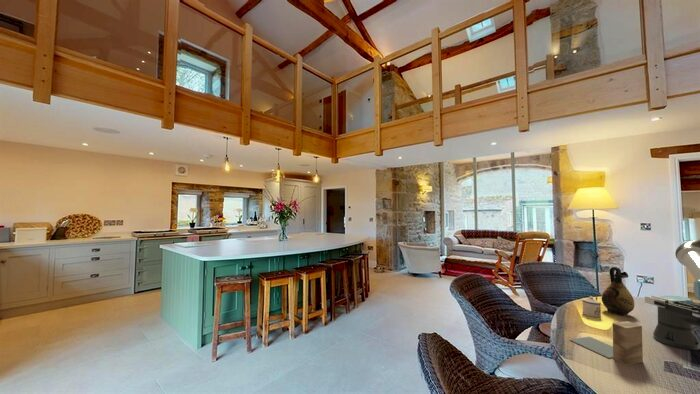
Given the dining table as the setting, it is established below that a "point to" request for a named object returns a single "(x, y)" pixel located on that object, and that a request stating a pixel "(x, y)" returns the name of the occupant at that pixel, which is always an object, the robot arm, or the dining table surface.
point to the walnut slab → (627, 342)
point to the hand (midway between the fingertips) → (648, 299)
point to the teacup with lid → (591, 307)
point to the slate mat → (595, 346)
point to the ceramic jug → (617, 294)
